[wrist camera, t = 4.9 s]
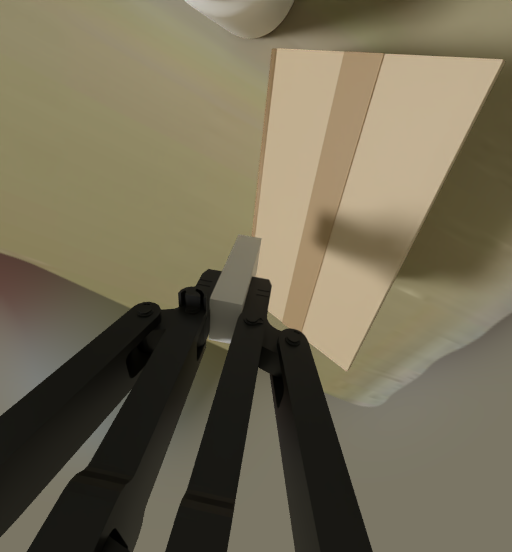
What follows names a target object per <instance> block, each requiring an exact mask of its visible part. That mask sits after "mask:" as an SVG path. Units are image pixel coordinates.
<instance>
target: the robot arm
mask: <svg viewBox="0 0 512 552" xmlns="http://www.w3.org/2000/svg"><path fill="white" fill-rule="evenodd" d="M261 239H262V238H257V237H251V236H245V235H238V237H237V239H236V242H235V244H234V246H233V248H232V250H231V253H230V255H229V257H228V259H227V262H226V264H225V266H224V268H223V270H222V271H217V270H211V269H208V270H207V271H205V272H204V273H202V275H201V277H200V279H199V281H198V283H197V285H196V286H195V287H186V288H184V289H182V290H181V291H180V292H179V293H178V297H179V307H178V308H175V309H166V310H161V309H160V307H159V305H157V304H156V303H152V302H143V303H140V304H137V305H136V306H134V307H133V308H131V309H130V310H129V311H128V312H127V313H125V314H124V315H123V316H122V317H121V318H119V319H118V320H117V321H116V322H114V323H113V324H112V325H111V326H110V327H108V328H107V329H106V330H105V331H103V332H102V333H101V334H100V335H99V336H98V337H96V338H95V339H94V340H93V341H91V342H90V343H89V344H88V345H86V346H85V347H84V348H83V349H82V350H80V351H79V352H78V353H77V354H75V355H74V356H73V357H72V358H71V359H69V360H68V361H67V362H66V363H64V364H63V365H62V366H61V367H60V368H59V369H57V370H56V371H55V372H54V373H53V374H51V375H50V376H49V377H47V378H46V379H45V380H44V381H43V382H42V383H40V384H39V385H38V386H36V387H35V388H34V389H33V390H32V391H30V392H29V393H28V394H27V395H26V396H24V397H23V398H22V399H21V400H20V401H18V402H17V403H16V404H15V405H13V406H12V407H11V408H10V409H9V410H7V411H6V412H5V413H4V414H3V415H1V416H0V537H1V536H2V535H3V534H4V533H5V532H6V531H7V529H8V528H9V527H10V526H11V525H12V524H13V523H14V522H15V521H16V520H17V519H18V518H19V516H20V515H21V514H22V513H23V512H24V511H25V509H26V508H27V507H28V506H29V505H30V504H31V503H32V502H33V500H34V499H35V498H36V497H37V496H38V495H39V494H40V493H41V491H42V490H43V489H44V488H45V487H46V486H47V485H48V483H49V482H50V481H51V480H52V479H53V478H54V477H55V475H56V474H57V473H58V472H59V471H60V470H61V469H62V468H63V466H64V465H65V464H66V463H67V462H68V461H69V460H70V458H71V457H72V456H73V455H74V454H75V453H76V452H77V450H78V449H79V448H80V447H81V446H82V444H84V442H85V441H86V440H87V439H88V438H89V437H90V436H91V435H92V433H93V432H94V431H95V430H96V429H97V428H98V427H99V425H100V424H101V423H102V422H103V421H104V419H106V417H107V416H108V415H109V414H110V413H111V412H112V411H113V410H114V408H115V407H116V406H117V405H118V404H119V403H120V402H121V400H122V399H123V398H124V397H125V396H126V395H127V393H129V391H130V390H131V389H132V390H131V392H130V394H129V395H128V397H127V399H126V400H125V402H124V404H123V406H122V407H121V409H120V411H119V413H118V414H117V416H116V418H115V420H114V421H113V423H112V425H111V427H110V428H109V430H108V432H107V434H106V435H105V437H104V439H103V441H102V442H101V444H100V446H99V448H98V449H97V451H96V453H95V455H94V457H93V458H92V460H91V462H90V463H89V465H88V466H87V467H86V468H85V469H84V470H83V471H81V472H79V473H77V474H76V475H75V476H74V477H73V478H72V479H71V480H70V481H69V483H68V484H67V486H66V487H65V489H64V490H63V492H62V494H61V495H60V497H59V499H58V500H57V502H56V504H55V505H54V507H53V509H52V511H51V512H50V514H49V515H48V517H47V519H46V521H45V522H44V524H43V525H42V527H41V529H40V530H39V532H38V534H37V536H36V537H35V539H34V541H33V542H32V544H31V546H30V547H29V549H28V551H27V552H133V550H134V547H135V545H136V542H137V539H138V536H139V533H140V529H141V526H142V522H143V517H144V511H145V508H146V505H147V502H148V499H149V497H150V494H151V491H152V489H153V486H154V483H155V481H156V478H157V475H158V473H159V470H160V468H161V465H162V462H163V460H164V457H165V454H166V451H167V449H168V446H169V444H170V441H171V438H172V435H173V433H174V430H175V428H176V425H177V422H178V420H179V417H180V415H181V412H182V409H183V407H184V404H185V401H186V399H187V396H188V393H189V391H190V388H191V385H192V383H193V380H194V378H195V375H196V372H197V370H198V367H199V364H200V361H201V359H202V356H203V354H204V351H205V348H206V339H207V337H208V334H209V339H210V340H215V341H220V342H225V343H230V346H229V350H228V353H227V357H226V360H225V364H224V367H223V370H222V374H221V377H220V380H219V384H218V387H217V390H216V394H215V397H214V400H213V404H212V407H211V411H210V414H209V418H208V421H207V424H206V427H205V431H204V434H203V438H202V441H201V445H200V448H199V451H198V455H197V458H196V461H195V465H194V468H193V472H192V475H191V478H190V482H189V485H188V488H187V491H186V493H185V495H184V497H183V498H182V501H181V503H180V506H179V509H178V512H177V515H176V518H175V521H174V525H173V528H172V531H171V535H170V538H169V541H168V544H167V548H166V551H165V552H227V548H228V541H229V536H230V530H231V524H232V518H233V512H234V505H235V499H236V493H237V487H238V481H239V476H240V470H241V464H242V458H243V452H244V447H245V441H246V435H247V428H248V423H249V418H250V411H251V406H252V400H253V394H254V389H255V382H256V376H257V371H258V367H259V368H260V369H262V370H264V371H266V372H268V373H270V380H271V387H272V394H273V401H274V408H275V414H276V421H277V428H278V436H279V442H280V449H281V456H282V463H283V470H284V477H285V484H286V490H287V498H288V504H289V511H290V518H291V525H292V532H293V539H294V546H295V552H373V551H372V548H371V545H370V542H369V538H368V535H367V532H366V528H365V525H364V522H363V519H362V515H361V512H360V509H359V506H358V503H357V499H356V496H355V493H354V489H353V486H352V483H351V480H350V476H349V473H348V470H347V467H346V464H345V460H344V457H343V454H342V450H341V447H340V444H339V441H338V437H337V434H336V431H335V428H334V424H333V421H332V418H331V414H330V411H329V408H328V405H327V401H326V398H325V395H324V392H323V388H322V385H321V382H320V379H319V375H318V372H317V369H316V366H315V362H314V359H313V356H312V353H311V349H310V346H309V343H308V340H307V338H306V336H305V335H304V334H303V333H302V332H301V331H298V330H296V329H291V328H290V329H285V330H283V331H279V330H277V329H276V328H274V327H272V326H271V325H270V324H269V322H268V320H267V312H268V306H269V300H270V294H271V288H272V285H271V282H270V280H269V279H264V278H258V277H256V273H257V267H258V260H259V253H260V246H261Z"/></svg>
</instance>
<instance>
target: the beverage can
mask: <svg viewBox="0 0 512 552" xmlns="http://www.w3.org/2000/svg"><path fill="white" fill-rule="evenodd" d="M185 1H186V2H187V3H188V4H189V5H190V6H192V7H193V8H195V9H196V10H198V11H199V12H201V13H202V14H203V15H205V16H206V17H208V18H209V19H211V20H212V21H214V22H215V23H217V24H218V25H220V26H221V27H223V28H224V29H226V30H227V31H229V32H230V33H232V34H234V35H236V36H238V37H241V38H247V39H253V38H259V37H262V36H264V35H266V34H268V33H270V32H271V31H273V30H274V29H275V28H276V27H277V26H278V25H279V24H280V23H281V22H282V21H283V20H284V18H285V17H286V15H287V14H288V12H289V10H290V8H291V6H292V4H293V2H294V0H185Z"/></svg>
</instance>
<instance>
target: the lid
mask: <svg viewBox="0 0 512 552" xmlns="http://www.w3.org/2000/svg"><path fill="white" fill-rule="evenodd" d="M505 62H506V61H505V60H504V59H484V58H464V57H444V56H423V55H403V54H384V53H367V52H346V51H344V52H342V51H321V50H301V49H280V48H277V49H272V54H271V63H270V72H269V82H268V91H267V100H266V109H265V118H264V127H263V137H262V146H261V155H260V164H259V173H258V183H257V192H256V201H255V210H254V219H253V228H252V237H257V238H262V239H261V246H260V253H259V260H258V267H257V273H256V277H258V278H264V279H269V280H270V282H271V285H272V288H271V294H270V300H269V306H268V311H269V312H270V313H271V314H273V315H274V316H275V317H277V318H278V319H279V320H280V321H282V323H283V324H284V325H286V326H287V327H288V328H291V329H296V330H298V331H301V332H302V333H303V334H304V335H305V336H306V338H307V340H308V342H309V343H310V344H312V345H313V346H314V347H315V348H317V349H318V350H319V351H321V352H322V353H323V354H325V355H326V356H327V357H328V358H330V359H331V360H332V361H334V362H335V363H336V364H338V365H339V366H340V367H341V368H343V369H344V370H345V371H348V370H349V368H350V367H351V365H352V363H353V361H354V359H355V357H356V355H357V353H358V351H359V349H360V347H361V345H362V343H363V341H364V339H365V337H366V335H367V334H368V332H369V330H370V328H371V326H372V324H373V322H374V320H375V318H376V316H377V314H378V312H379V310H380V308H381V306H382V304H383V302H384V300H385V298H386V296H387V294H388V292H389V290H390V288H391V286H392V284H393V282H394V280H395V278H396V276H397V274H398V272H399V270H400V269H401V267H402V265H403V263H404V261H405V259H406V257H407V255H408V253H409V251H410V249H411V247H412V245H413V243H414V241H415V239H416V237H417V235H418V233H419V231H420V229H421V227H422V225H423V223H424V221H425V219H426V217H427V215H428V213H429V211H430V209H431V207H432V205H433V204H434V202H435V200H436V198H437V196H438V194H439V192H440V190H441V188H442V186H443V184H444V182H445V180H446V178H447V176H448V174H449V172H450V170H451V168H452V166H453V164H454V162H455V160H456V158H457V156H458V154H459V152H460V150H461V148H462V146H463V144H464V142H465V140H466V138H467V137H468V135H469V133H470V131H471V129H472V127H473V125H474V123H475V121H476V119H477V117H478V115H479V113H480V111H481V109H482V107H483V105H484V103H485V101H486V99H487V97H488V95H489V93H490V91H491V89H492V87H493V85H494V83H495V81H496V79H497V77H498V75H499V73H500V72H501V70H502V68H503V66H504V64H505Z"/></svg>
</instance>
